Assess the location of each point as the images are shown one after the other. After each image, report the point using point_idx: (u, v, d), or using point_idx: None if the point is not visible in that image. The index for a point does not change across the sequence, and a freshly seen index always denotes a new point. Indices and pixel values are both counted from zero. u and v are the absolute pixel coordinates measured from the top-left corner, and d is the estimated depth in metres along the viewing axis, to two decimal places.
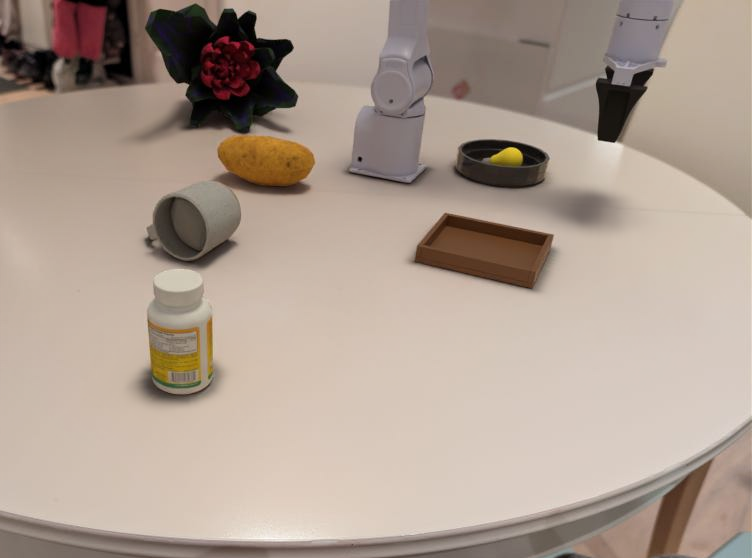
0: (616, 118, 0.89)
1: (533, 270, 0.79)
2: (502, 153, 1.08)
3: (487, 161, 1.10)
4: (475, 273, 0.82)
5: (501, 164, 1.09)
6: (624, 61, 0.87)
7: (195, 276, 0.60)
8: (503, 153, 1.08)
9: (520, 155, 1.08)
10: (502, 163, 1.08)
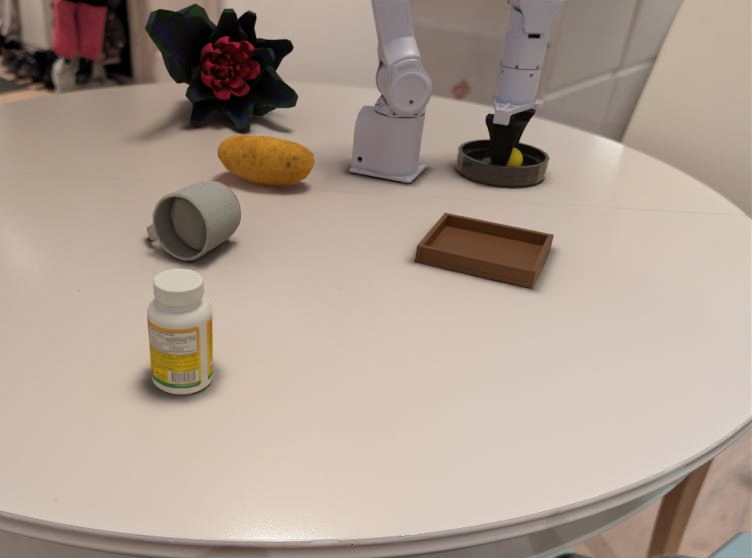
0: (504, 147, 1.06)
1: (533, 270, 0.79)
2: None
3: (487, 161, 1.10)
4: (475, 273, 0.82)
5: None
6: (506, 103, 1.03)
7: (195, 276, 0.60)
8: None
9: (520, 155, 1.08)
10: None
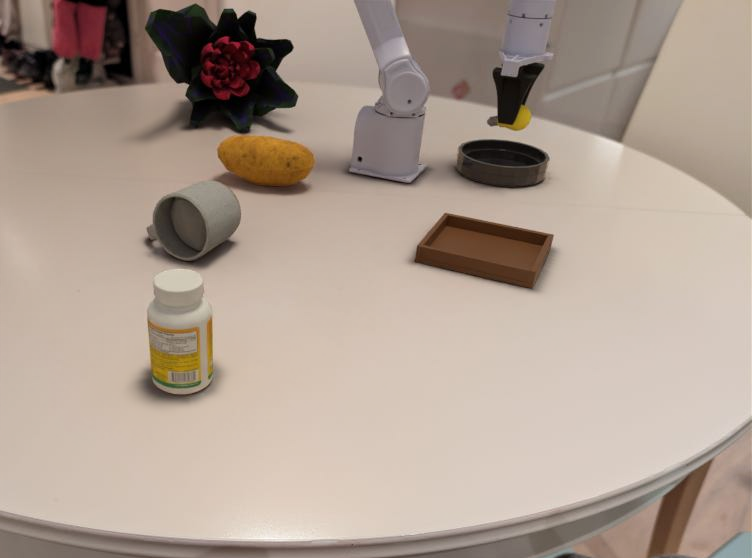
0: (512, 103, 1.01)
1: (533, 270, 0.79)
2: None
3: (494, 119, 1.05)
4: (475, 273, 0.82)
5: None
6: (514, 55, 0.98)
7: (195, 276, 0.60)
8: None
9: (528, 112, 1.03)
10: None
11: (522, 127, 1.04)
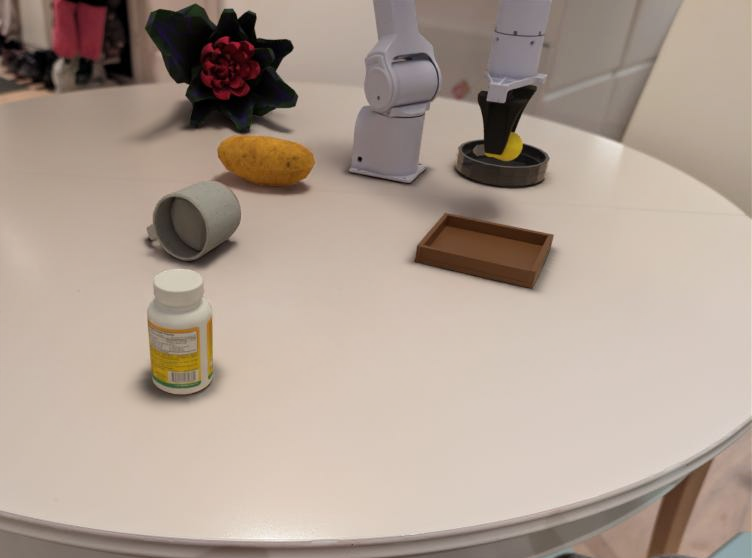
0: (500, 131, 0.89)
1: (533, 270, 0.79)
2: None
3: (480, 148, 0.93)
4: (475, 273, 0.82)
5: None
6: (502, 77, 0.86)
7: (195, 276, 0.60)
8: None
9: (519, 141, 0.91)
10: None
11: (512, 157, 0.92)
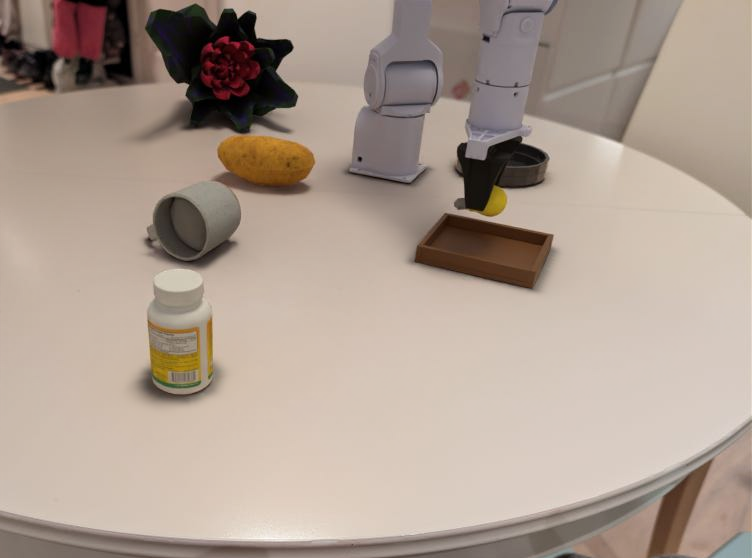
0: (482, 186, 0.82)
1: (533, 270, 0.79)
2: None
3: (462, 202, 0.86)
4: (475, 273, 0.82)
5: None
6: (483, 130, 0.79)
7: (195, 276, 0.60)
8: None
9: (503, 196, 0.84)
10: None
11: (496, 213, 0.84)
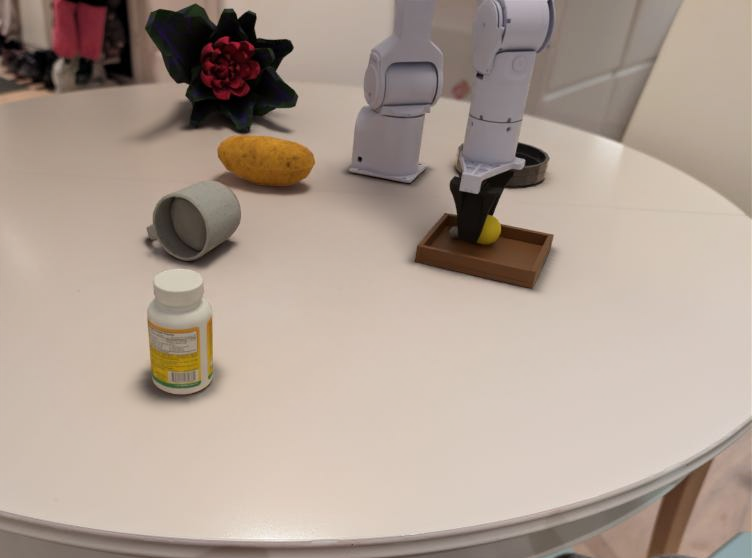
0: (474, 218, 0.84)
1: (533, 270, 0.79)
2: None
3: (457, 231, 0.88)
4: (475, 273, 0.82)
5: None
6: (477, 163, 0.81)
7: (195, 276, 0.60)
8: None
9: (497, 225, 0.86)
10: None
11: (490, 241, 0.86)
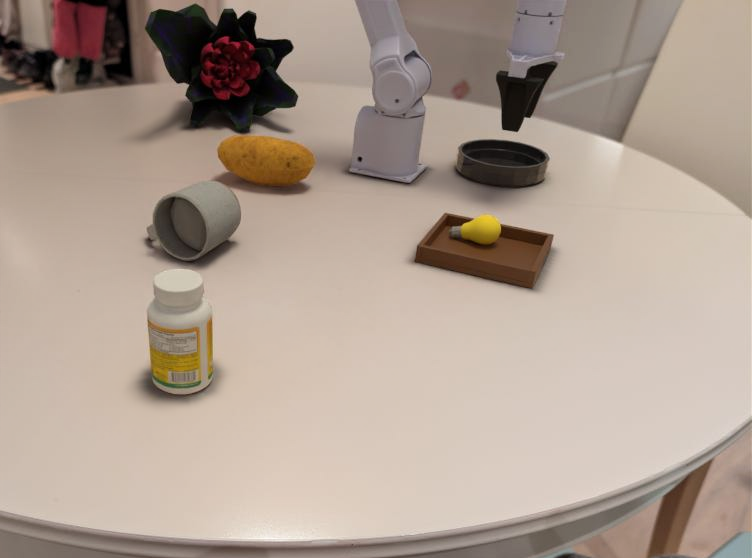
0: (517, 108, 0.95)
1: (533, 270, 0.79)
2: (475, 222, 0.86)
3: (457, 231, 0.88)
4: (475, 273, 0.82)
5: (474, 236, 0.86)
6: (522, 55, 0.92)
7: (195, 276, 0.60)
8: (476, 223, 0.86)
9: (497, 225, 0.86)
10: (475, 234, 0.86)
11: (490, 241, 0.86)
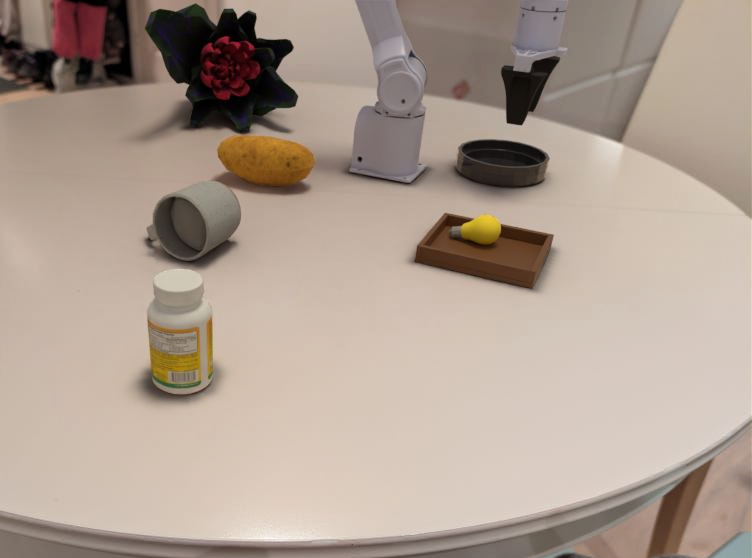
0: (521, 102, 0.97)
1: (533, 270, 0.79)
2: (475, 222, 0.86)
3: (457, 231, 0.88)
4: (475, 273, 0.82)
5: (474, 236, 0.86)
6: (527, 50, 0.95)
7: (195, 276, 0.60)
8: (476, 223, 0.86)
9: (497, 225, 0.86)
10: (475, 234, 0.86)
11: (490, 241, 0.86)
